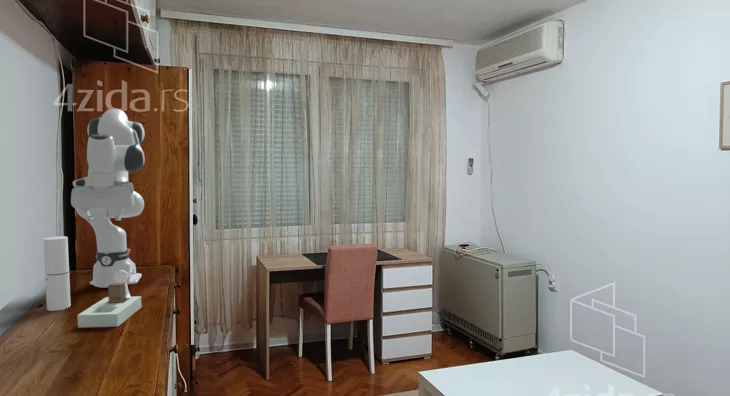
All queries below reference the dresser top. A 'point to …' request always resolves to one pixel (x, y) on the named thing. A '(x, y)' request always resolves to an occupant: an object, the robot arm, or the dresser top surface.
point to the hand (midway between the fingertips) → (104, 220)
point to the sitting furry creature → (122, 279)
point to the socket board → (109, 313)
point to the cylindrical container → (57, 273)
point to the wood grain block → (117, 292)
